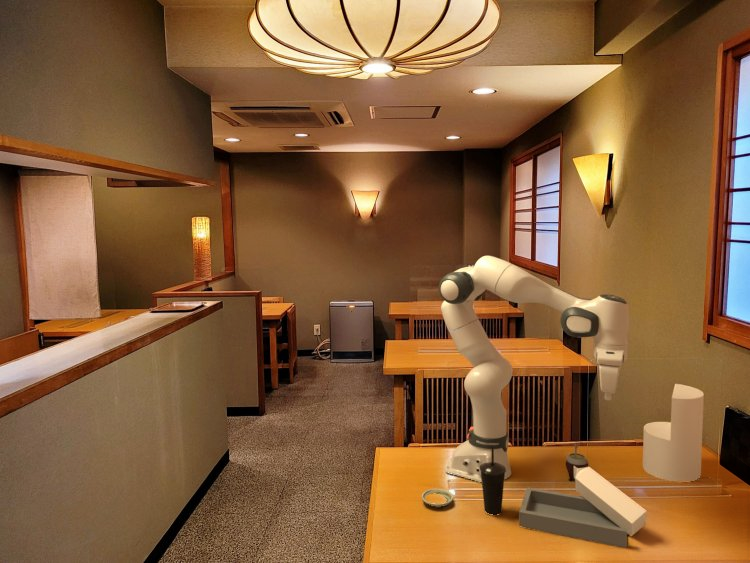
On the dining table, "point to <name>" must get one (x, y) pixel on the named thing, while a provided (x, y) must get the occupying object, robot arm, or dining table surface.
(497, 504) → the drinking cup
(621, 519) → the milk
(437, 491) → the saucer
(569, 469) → the mate gourd
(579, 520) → the trough
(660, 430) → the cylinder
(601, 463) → the dining table surface
